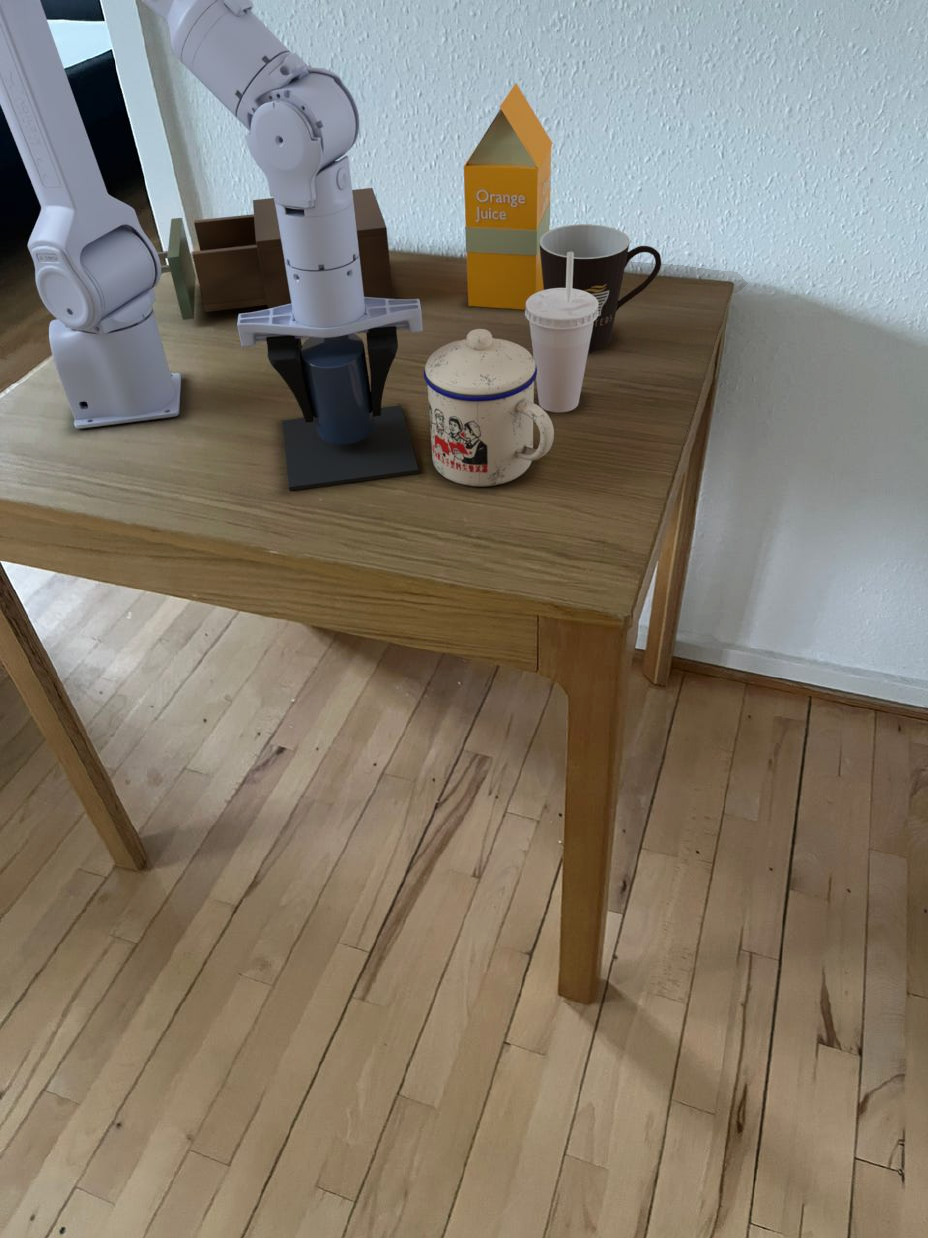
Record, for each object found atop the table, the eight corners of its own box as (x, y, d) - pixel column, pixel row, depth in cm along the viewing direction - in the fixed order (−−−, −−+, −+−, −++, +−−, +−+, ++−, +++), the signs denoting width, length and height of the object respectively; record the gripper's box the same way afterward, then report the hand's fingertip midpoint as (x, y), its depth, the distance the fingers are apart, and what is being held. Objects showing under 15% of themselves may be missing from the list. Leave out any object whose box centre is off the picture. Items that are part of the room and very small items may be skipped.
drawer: (141, 324, 102) (124, 262, 97) (147, 282, 110) (131, 222, 106) (298, 306, 104) (288, 244, 99) (292, 266, 112) (283, 206, 108)
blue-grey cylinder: (312, 412, 85) (296, 335, 79) (369, 402, 85) (358, 324, 79) (320, 449, 82) (304, 372, 75) (380, 438, 82) (369, 361, 76)
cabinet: (270, 320, 104) (255, 241, 98) (266, 274, 113) (252, 199, 107) (393, 305, 105) (386, 227, 99) (379, 261, 114) (372, 187, 109)
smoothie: (589, 422, 86) (598, 269, 76) (519, 417, 87) (519, 266, 77) (596, 387, 90) (606, 239, 81) (529, 382, 91) (531, 236, 82)
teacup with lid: (408, 463, 82) (396, 336, 74) (479, 420, 87) (476, 297, 79) (512, 517, 76) (512, 386, 68) (583, 468, 80) (591, 340, 72)
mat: (289, 491, 80) (288, 487, 79) (283, 424, 88) (282, 420, 87) (419, 473, 81) (418, 469, 80) (401, 408, 89) (400, 404, 88)
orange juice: (466, 305, 104) (459, 105, 91) (483, 273, 111) (479, 81, 97) (537, 310, 103) (540, 107, 89) (550, 276, 109) (555, 82, 96)
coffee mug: (530, 354, 96) (531, 255, 89) (545, 316, 102) (547, 221, 95) (646, 364, 93) (657, 263, 87) (655, 325, 99) (665, 228, 93)
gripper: (412, 229, 76) (423, 382, 85) (229, 243, 75) (261, 397, 84) (419, 264, 71) (430, 423, 80) (223, 280, 70) (257, 439, 79)
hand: (343, 413), depth 82 cm, fingers closed on blue-grey cylinder, 5 cm apart
